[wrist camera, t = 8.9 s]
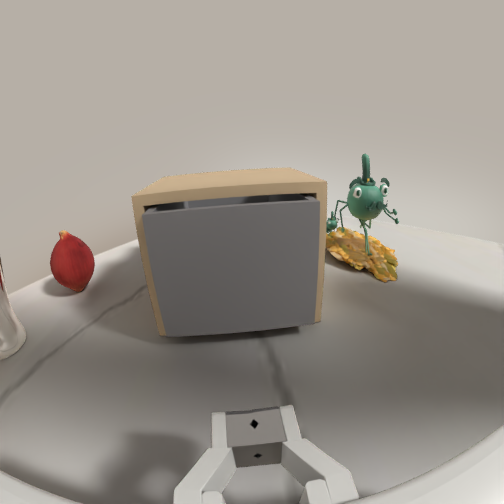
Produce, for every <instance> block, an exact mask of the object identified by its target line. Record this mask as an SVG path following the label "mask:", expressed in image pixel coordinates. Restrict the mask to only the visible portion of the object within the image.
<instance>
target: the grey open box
mask: <svg viewBox="0 0 504 504" xmlns="http://www.w3.org/2000/svg"><path fill="white" fill-rule="evenodd" d="M142 220H143V227H144V233H145V239H146V245H147V250H148V256H149V261H150V266H151V271H152V276H153V281H154V286H155V290H156V295H157V299H158V304H159V308H160V312H161V316H162V320H163V324H164V328H165V332H166V336H167V337H177V336H197V335H212V334H226V333H238V332H249V331H259V330H269V329H278V328H286V327H294V326H302V325H309V324H314V323H315V310H316V296H317V280H318V260H319V233H320V201H318V200H317V199H315V198H314V197H312V196H310V195H309V194H307V193H296V194H275V195H258V196H242V197H229V198H216V199H204V200H193V201H183V202H173V203H164V204H155V205H152V206H151V207H150V208H149V209H148V210H147V211H146V212H145V213H144V214H142Z"/></svg>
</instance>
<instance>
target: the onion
mask: <svg viewBox="0 0 504 504" xmlns="http://www.w3.org/2000/svg"><path fill="white" fill-rule="evenodd" d="M59 235H60V240H59V241H58V242H57V244H56V245H55V247H54V249H53V252H52V254H51V260H50V266H51V271H52V273H53V276H54V278H55V279H56V280H57V281H58V283H59V284H61V285H63V286H65V287H67V288H70V289H72V290H74V291H76V292H80V291H82V290H83V289H84V287H85V286H86V285H87V284H88V282H89V281H90V279H91V277H92V275H93V272H94V266H95V263H94V257H93V254H92V252H91V250H90V248H89V247H88V246H87V245H86V244H85V243H84V242H83V241H81V240H80V239H79V238H77V237H75V236H73V235H71V234H69V233H68V232H67V231H61V232H60V233H59Z"/></svg>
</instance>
